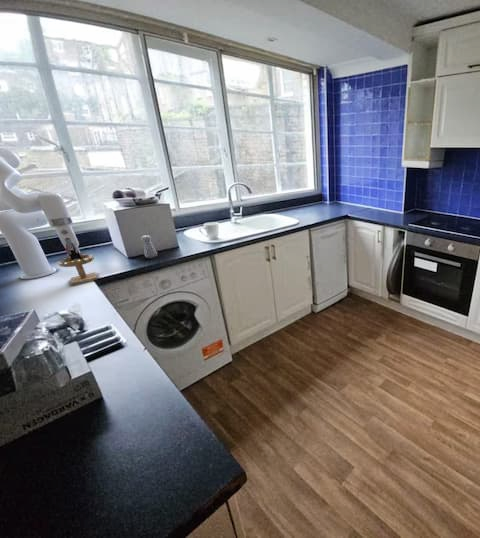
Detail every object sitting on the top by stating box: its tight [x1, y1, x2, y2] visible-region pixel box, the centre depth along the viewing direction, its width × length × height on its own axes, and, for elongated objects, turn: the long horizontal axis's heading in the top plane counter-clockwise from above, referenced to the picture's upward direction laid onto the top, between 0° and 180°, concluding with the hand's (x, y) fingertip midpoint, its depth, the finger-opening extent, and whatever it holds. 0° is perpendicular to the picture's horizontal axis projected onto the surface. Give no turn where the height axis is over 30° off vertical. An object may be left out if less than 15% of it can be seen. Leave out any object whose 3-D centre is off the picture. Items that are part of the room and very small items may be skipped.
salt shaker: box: [140, 235, 158, 259], centre depth 160 cm, size 6×6×13 cm
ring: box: [58, 253, 95, 268], centre depth 134 cm, size 12×12×2 cm
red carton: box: [64, 246, 82, 257], centre depth 169 cm, size 6×6×12 cm
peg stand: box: [70, 259, 99, 287], centre depth 136 cm, size 9×9×10 cm
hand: (77, 260), depth 137 cm, fingers closed on ring, 2 cm apart
